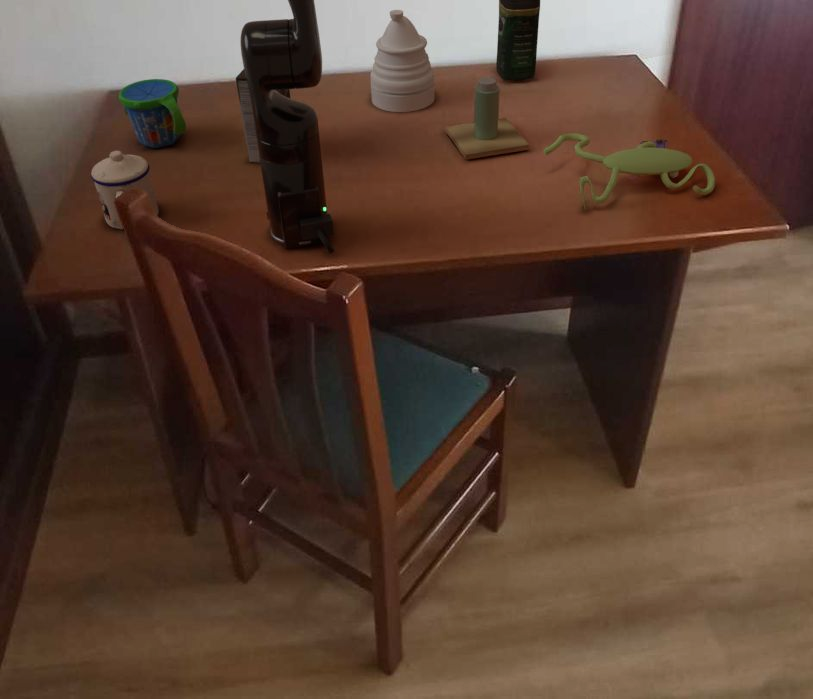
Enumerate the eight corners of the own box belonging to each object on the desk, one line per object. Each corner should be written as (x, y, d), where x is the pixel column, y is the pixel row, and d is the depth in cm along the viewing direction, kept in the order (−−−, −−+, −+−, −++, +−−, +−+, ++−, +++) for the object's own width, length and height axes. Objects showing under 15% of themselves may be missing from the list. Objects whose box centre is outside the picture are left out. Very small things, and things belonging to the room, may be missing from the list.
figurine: (536, 161, 155) (538, 132, 151) (680, 146, 157) (685, 117, 153) (565, 213, 141) (568, 183, 137) (723, 197, 143) (730, 166, 139)
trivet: (528, 151, 158) (529, 144, 157) (465, 161, 155) (465, 154, 154) (505, 124, 167) (505, 117, 166) (445, 133, 164) (445, 126, 163)
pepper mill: (501, 138, 159) (503, 83, 152) (478, 141, 158) (479, 87, 151) (492, 128, 162) (494, 74, 156) (470, 131, 161) (471, 77, 155)
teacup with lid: (107, 206, 147) (88, 143, 140) (161, 200, 148) (146, 137, 141) (100, 244, 138) (80, 178, 130) (158, 237, 139) (142, 171, 132)
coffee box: (264, 140, 165) (252, 56, 154) (297, 142, 163) (287, 58, 153) (248, 162, 158) (234, 77, 147) (281, 165, 157) (270, 79, 146)
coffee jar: (539, 81, 181) (545, -10, 170) (502, 84, 181) (505, -8, 169) (528, 64, 189) (534, -25, 177) (492, 67, 188) (496, -23, 176)
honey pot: (423, 115, 171) (421, 22, 159) (362, 108, 174) (356, 17, 163) (442, 89, 180) (441, 0, 169) (383, 83, 183) (379, -5, 172)
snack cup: (114, 137, 167) (101, 86, 161) (161, 119, 173) (150, 70, 166) (157, 163, 159) (145, 110, 152) (206, 143, 164) (196, 92, 158)
